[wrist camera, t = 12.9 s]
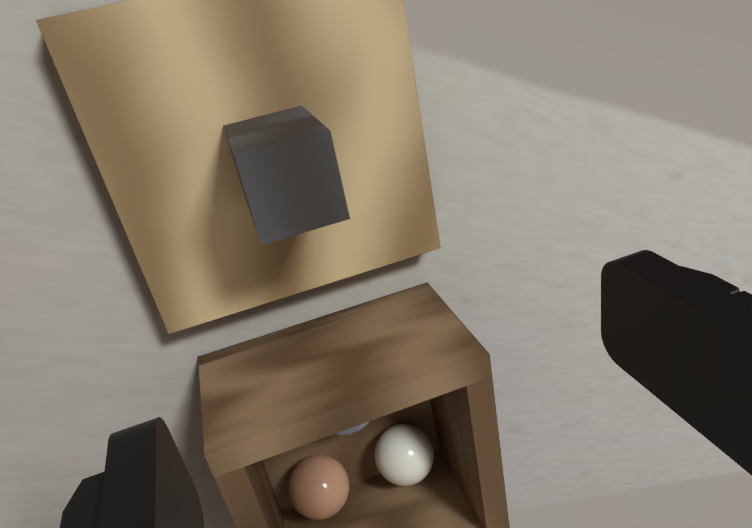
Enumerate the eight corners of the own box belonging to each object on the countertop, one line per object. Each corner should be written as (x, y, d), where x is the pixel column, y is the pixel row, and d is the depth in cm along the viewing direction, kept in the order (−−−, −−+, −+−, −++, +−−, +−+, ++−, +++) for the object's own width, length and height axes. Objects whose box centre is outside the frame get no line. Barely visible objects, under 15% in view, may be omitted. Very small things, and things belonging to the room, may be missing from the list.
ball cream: (373, 465, 34) (390, 508, 31) (362, 423, 32) (380, 464, 29) (424, 445, 34) (446, 485, 31) (416, 404, 33) (438, 442, 30)
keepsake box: (264, 522, 34) (283, 637, 28) (198, 356, 28) (204, 455, 22) (454, 449, 36) (511, 541, 30) (427, 282, 31) (489, 354, 25)
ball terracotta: (291, 496, 33) (302, 543, 30) (277, 454, 31) (287, 499, 28) (346, 475, 33) (362, 519, 31) (334, 433, 32) (349, 476, 29)
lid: (168, 314, 27) (167, 402, 22) (45, 18, 21) (-3, 27, 16) (426, 234, 30) (488, 294, 24) (380, -52, 24) (448, -67, 18)
